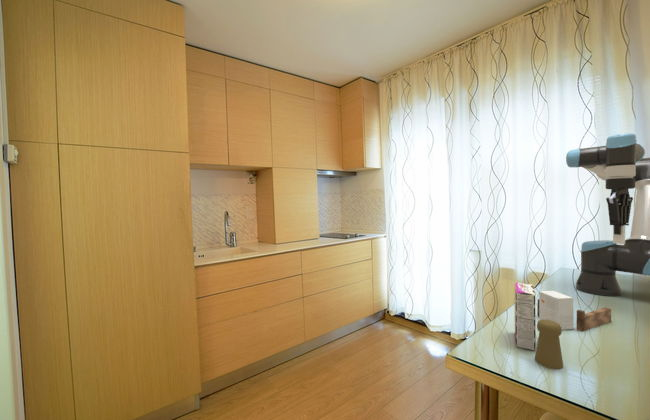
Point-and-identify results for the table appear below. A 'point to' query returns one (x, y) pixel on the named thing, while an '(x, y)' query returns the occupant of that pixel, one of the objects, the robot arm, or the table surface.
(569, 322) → the small box
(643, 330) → the table surface
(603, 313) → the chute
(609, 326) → the table surface
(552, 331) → the cork
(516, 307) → the candy bar box
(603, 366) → the table surface
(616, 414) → the table surface
